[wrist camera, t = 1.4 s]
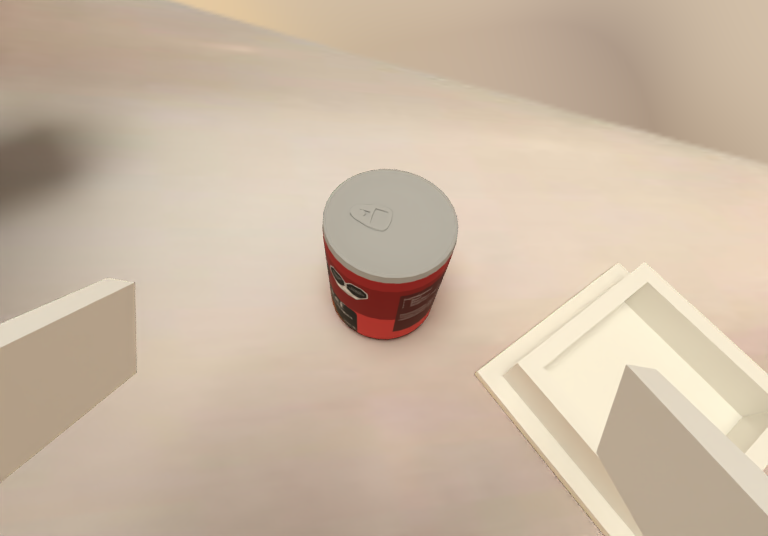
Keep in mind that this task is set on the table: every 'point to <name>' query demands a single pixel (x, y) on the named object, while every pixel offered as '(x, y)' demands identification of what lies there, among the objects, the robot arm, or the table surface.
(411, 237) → the canned food
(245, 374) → the table surface
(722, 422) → the white square tray
